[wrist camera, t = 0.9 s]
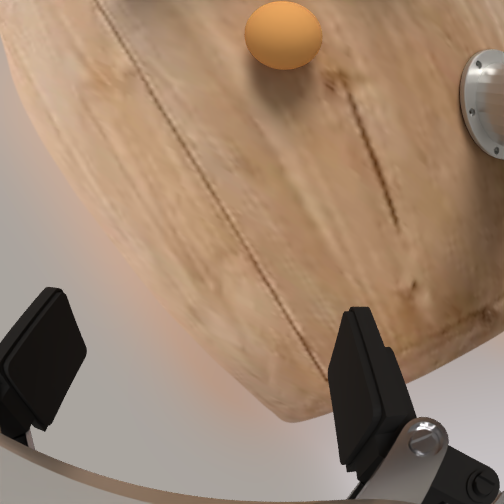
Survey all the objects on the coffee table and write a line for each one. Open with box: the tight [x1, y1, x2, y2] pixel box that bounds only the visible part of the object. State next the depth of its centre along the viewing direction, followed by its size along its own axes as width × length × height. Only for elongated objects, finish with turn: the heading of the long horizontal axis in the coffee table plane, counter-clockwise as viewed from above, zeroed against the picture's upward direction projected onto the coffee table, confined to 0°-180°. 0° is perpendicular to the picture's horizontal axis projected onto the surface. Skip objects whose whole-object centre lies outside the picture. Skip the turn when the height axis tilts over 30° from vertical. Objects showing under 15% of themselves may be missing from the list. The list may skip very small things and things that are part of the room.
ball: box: [245, 1, 322, 70], centre depth 20 cm, size 6×6×6 cm
